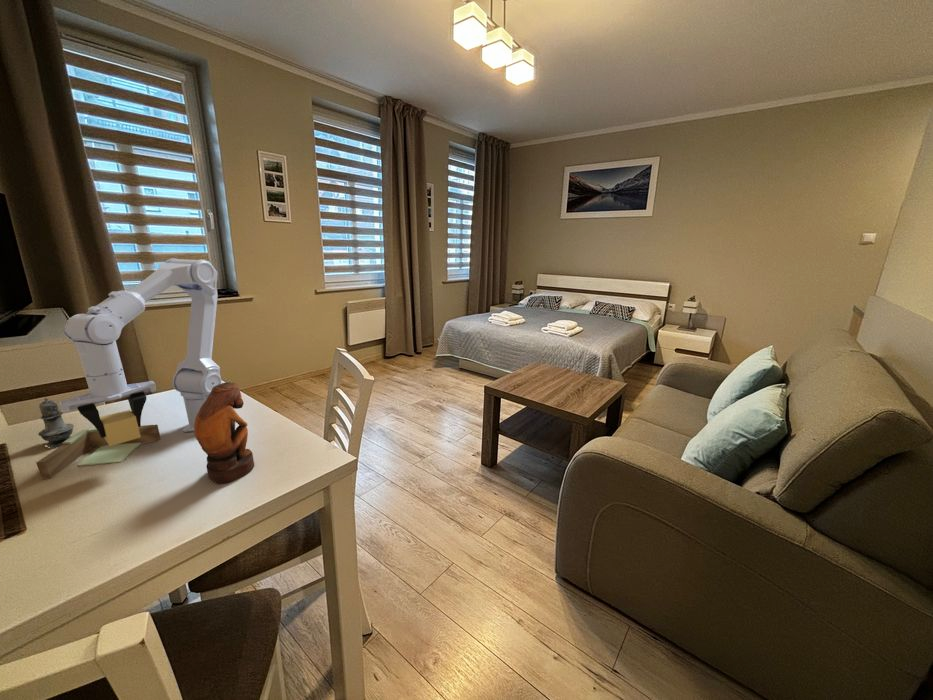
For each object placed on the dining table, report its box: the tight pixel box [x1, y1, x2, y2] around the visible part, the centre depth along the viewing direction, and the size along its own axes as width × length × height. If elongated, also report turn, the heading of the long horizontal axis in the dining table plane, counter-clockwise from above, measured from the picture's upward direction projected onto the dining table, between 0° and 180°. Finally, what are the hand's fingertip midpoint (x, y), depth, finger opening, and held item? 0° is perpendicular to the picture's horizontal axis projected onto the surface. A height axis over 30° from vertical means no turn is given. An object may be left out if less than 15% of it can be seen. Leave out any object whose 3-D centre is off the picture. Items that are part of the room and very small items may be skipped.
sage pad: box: [77, 443, 143, 467], centre depth 86 cm, size 8×8×1 cm
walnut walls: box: [35, 424, 162, 480], centre depth 84 cm, size 15×14×4 cm
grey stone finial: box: [37, 397, 75, 449], centre depth 88 cm, size 6×6×12 cm
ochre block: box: [100, 409, 141, 446], centre depth 79 cm, size 5×5×5 cm
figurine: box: [193, 381, 255, 484], centre depth 79 cm, size 9×10×20 cm
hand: (120, 430), depth 80 cm, fingers closed on ochre block, 5 cm apart
